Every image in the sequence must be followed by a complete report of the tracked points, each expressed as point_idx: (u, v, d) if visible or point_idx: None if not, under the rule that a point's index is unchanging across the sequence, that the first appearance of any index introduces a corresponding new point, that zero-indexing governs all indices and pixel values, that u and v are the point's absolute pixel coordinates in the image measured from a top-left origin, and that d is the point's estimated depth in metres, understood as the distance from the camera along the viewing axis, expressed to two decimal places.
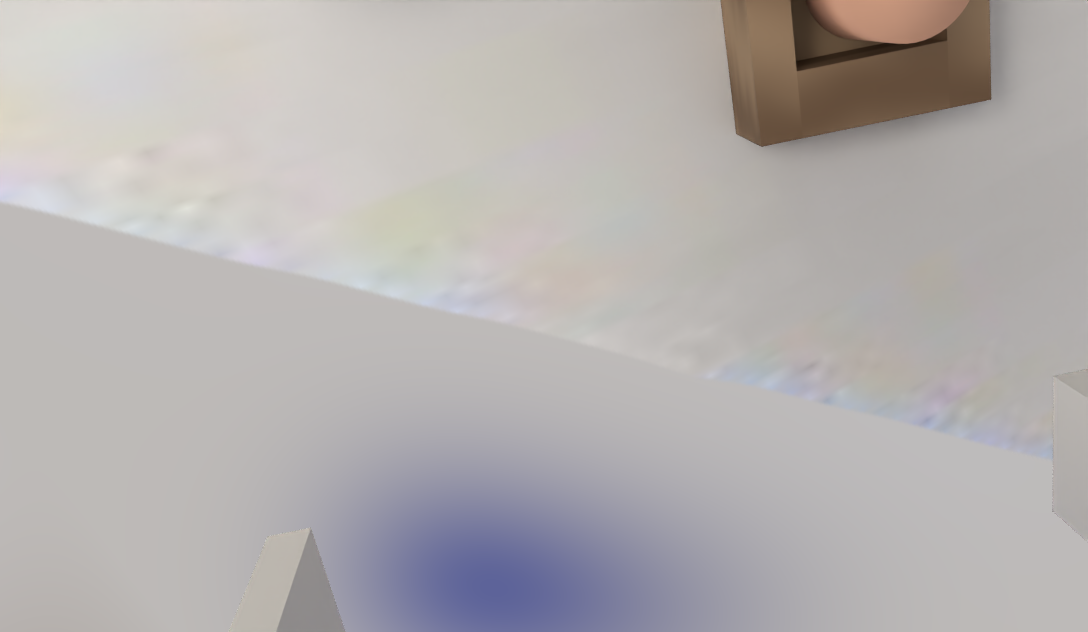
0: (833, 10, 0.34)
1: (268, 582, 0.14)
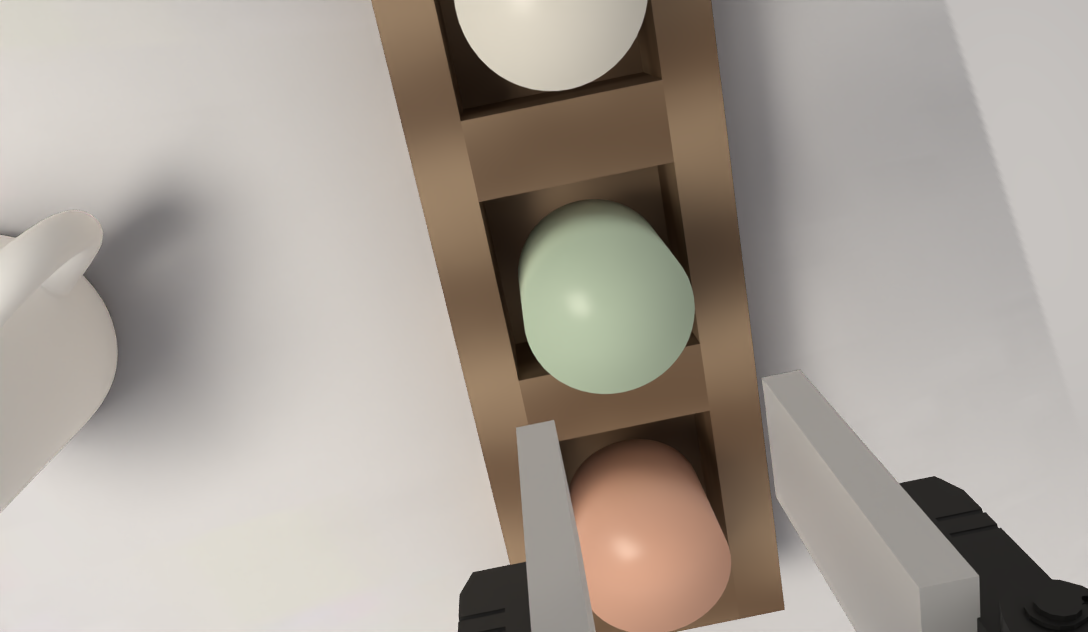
0: None
1: (536, 458, 0.16)
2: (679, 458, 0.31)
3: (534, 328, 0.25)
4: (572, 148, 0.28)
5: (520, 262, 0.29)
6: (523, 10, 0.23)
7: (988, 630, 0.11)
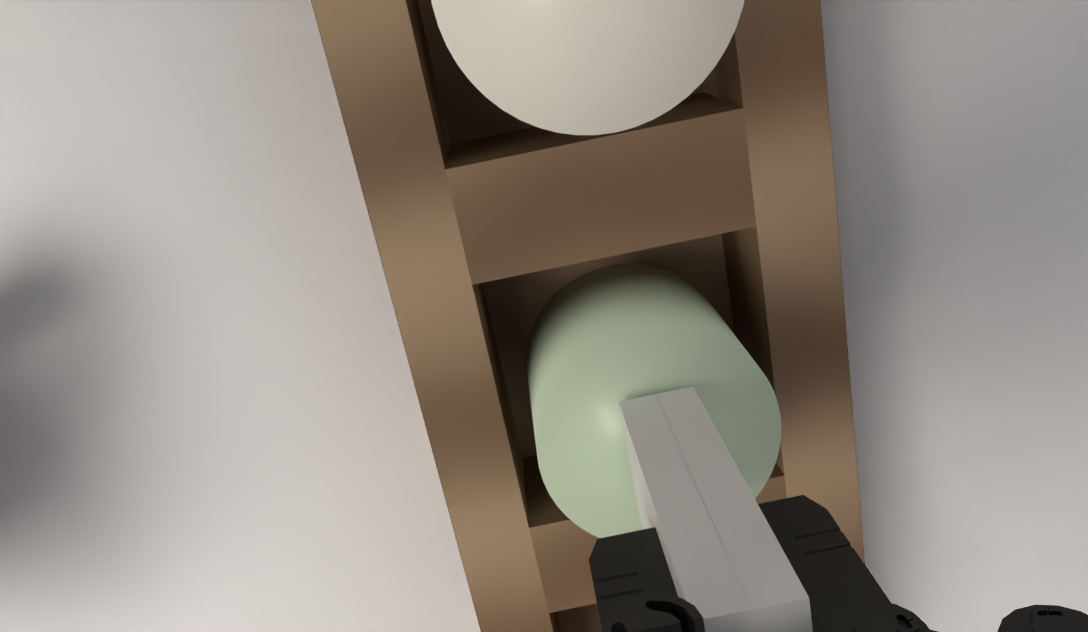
0: None
1: (647, 430, 0.16)
2: None
3: (551, 461, 0.18)
4: (609, 208, 0.19)
5: (529, 350, 0.21)
6: (544, 4, 0.14)
7: None
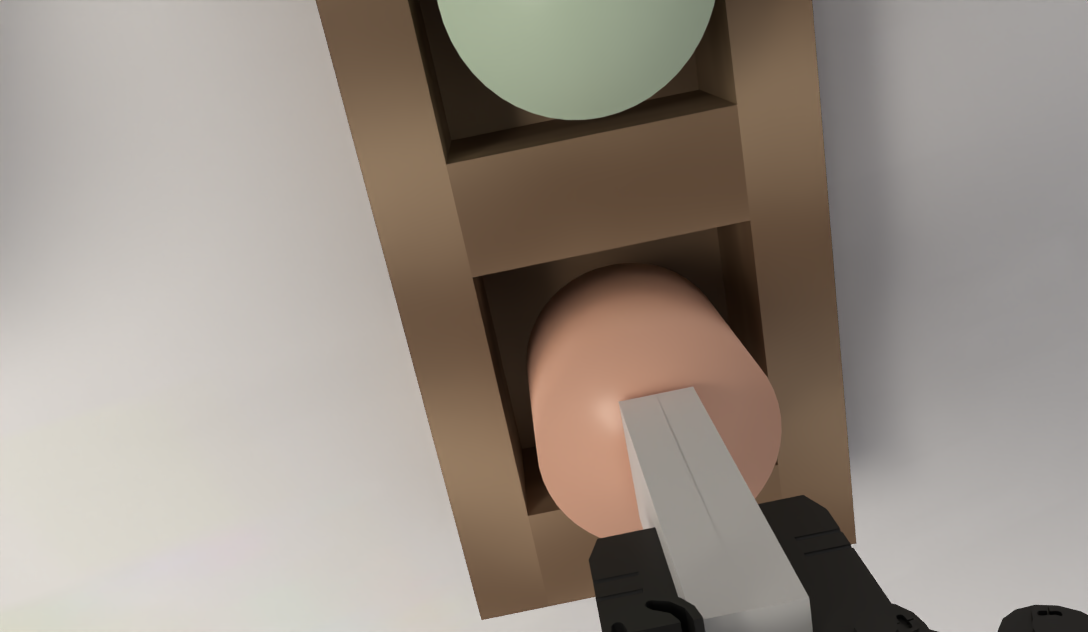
0: None
1: (647, 430, 0.16)
2: (695, 289, 0.21)
3: None
4: None
5: None
6: None
7: None
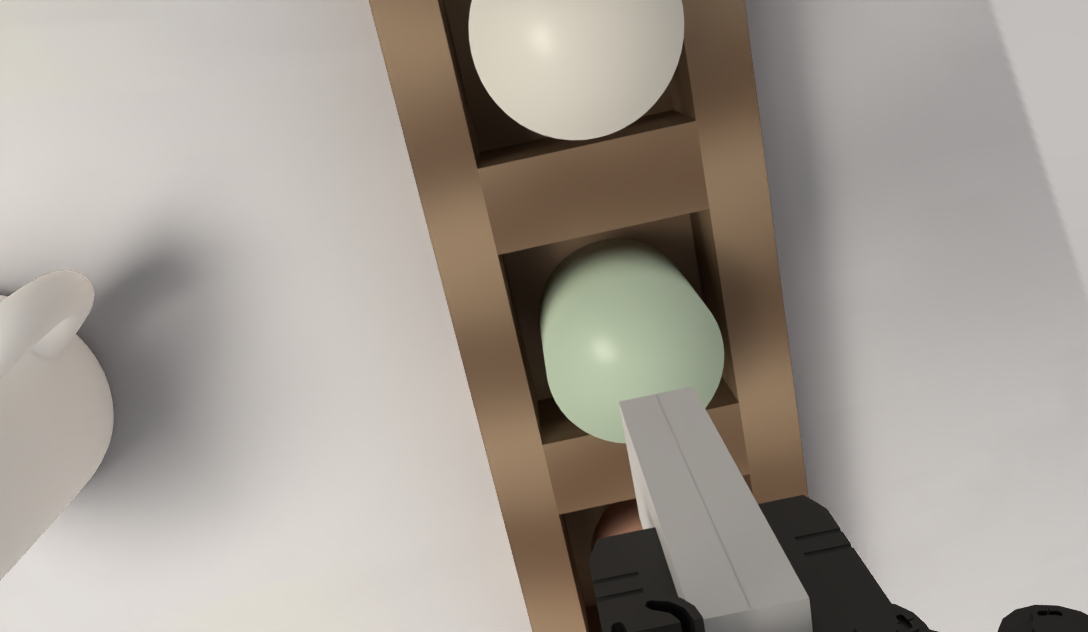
0: None
1: (647, 430, 0.16)
2: None
3: (557, 377, 0.24)
4: (598, 196, 0.26)
5: (541, 305, 0.28)
6: (546, 52, 0.20)
7: None
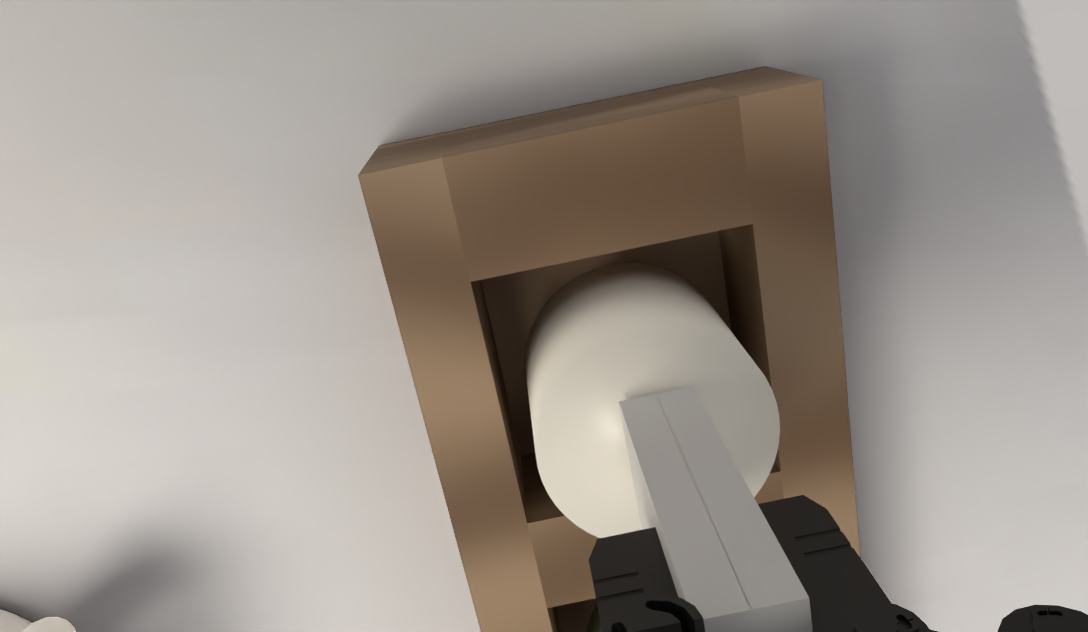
0: None
1: (647, 430, 0.16)
2: None
3: None
4: None
5: None
6: (622, 464, 0.18)
7: None
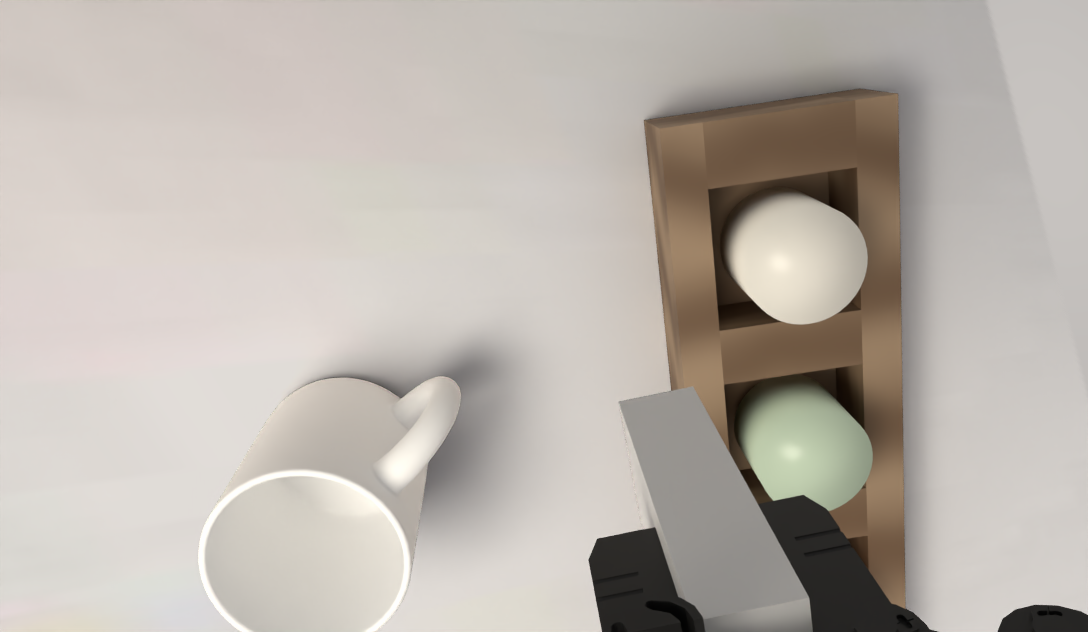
0: None
1: (647, 430, 0.16)
2: None
3: (766, 469, 0.38)
4: (793, 352, 0.40)
5: (740, 414, 0.42)
6: (788, 276, 0.36)
7: None
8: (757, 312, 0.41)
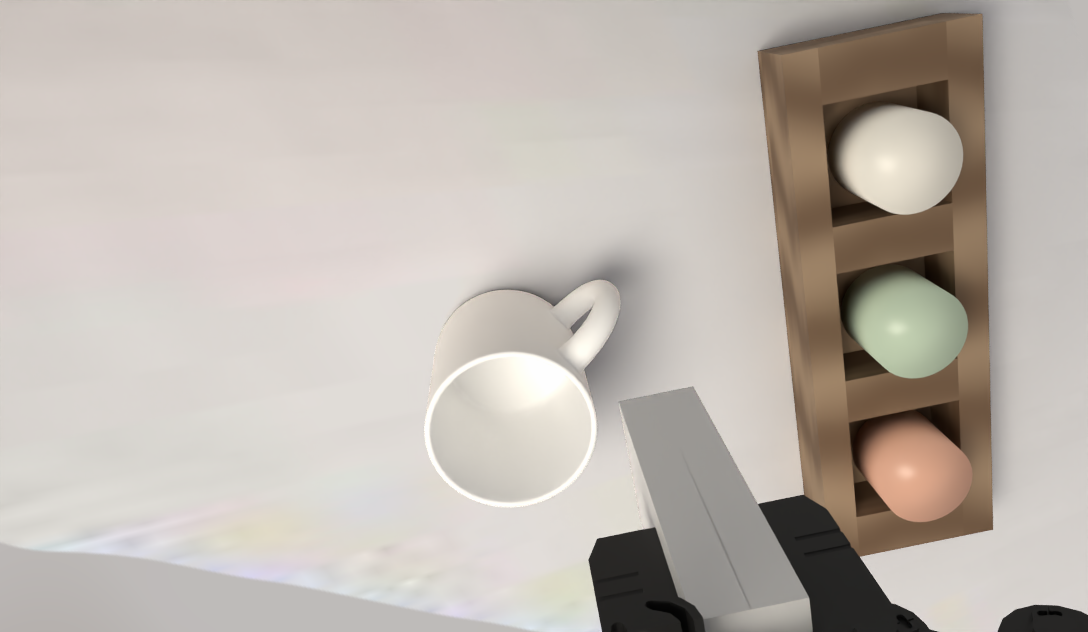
0: (874, 489, 0.50)
1: (647, 430, 0.16)
2: (927, 419, 0.51)
3: (878, 341, 0.45)
4: (895, 242, 0.46)
5: (847, 301, 0.49)
6: (896, 173, 0.43)
7: None
8: (860, 212, 0.48)
